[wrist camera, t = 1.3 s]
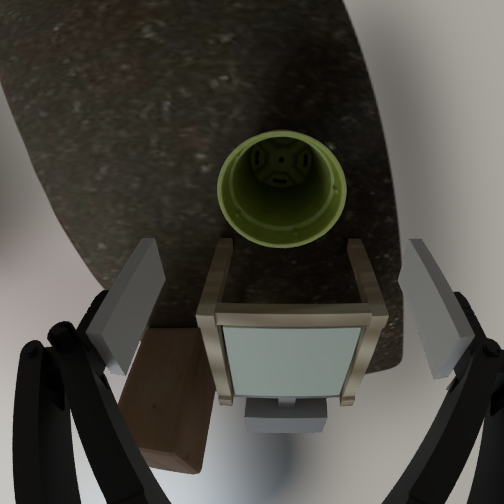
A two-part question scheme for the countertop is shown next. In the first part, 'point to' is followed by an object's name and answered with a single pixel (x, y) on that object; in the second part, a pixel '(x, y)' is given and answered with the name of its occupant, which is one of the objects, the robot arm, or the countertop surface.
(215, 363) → the frame
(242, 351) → the trapdoor
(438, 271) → the robot arm
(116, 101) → the countertop surface
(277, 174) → the plant pot
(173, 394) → the wooden block
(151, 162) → the countertop surface
